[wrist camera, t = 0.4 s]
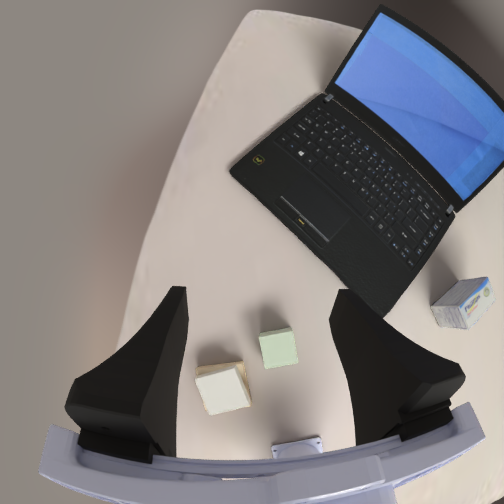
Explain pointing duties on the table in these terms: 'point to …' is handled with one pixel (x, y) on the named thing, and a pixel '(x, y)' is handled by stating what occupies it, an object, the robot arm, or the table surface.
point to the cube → (278, 348)
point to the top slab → (222, 390)
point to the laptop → (381, 158)
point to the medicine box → (464, 303)
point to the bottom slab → (211, 368)
